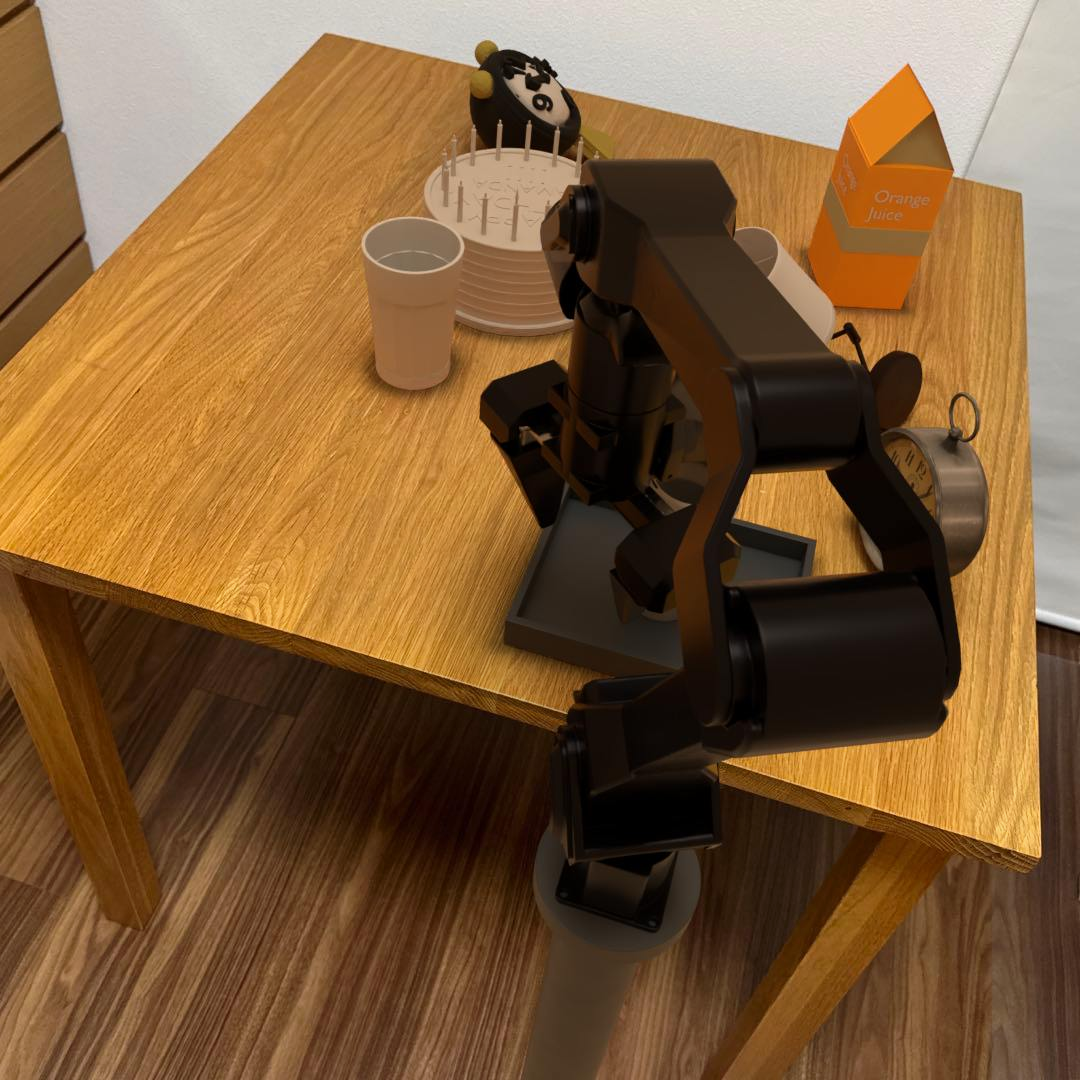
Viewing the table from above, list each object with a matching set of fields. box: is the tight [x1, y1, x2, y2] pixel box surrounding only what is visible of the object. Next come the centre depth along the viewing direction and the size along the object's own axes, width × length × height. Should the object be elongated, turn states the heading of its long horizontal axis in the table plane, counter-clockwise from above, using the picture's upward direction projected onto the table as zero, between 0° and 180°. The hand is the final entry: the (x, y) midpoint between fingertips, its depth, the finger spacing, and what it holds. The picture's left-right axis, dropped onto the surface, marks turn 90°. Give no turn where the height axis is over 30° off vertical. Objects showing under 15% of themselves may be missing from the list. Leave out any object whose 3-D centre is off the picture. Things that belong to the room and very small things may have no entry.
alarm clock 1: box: [468, 39, 614, 160], centre depth 118 cm, size 12×15×15 cm
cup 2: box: [642, 461, 741, 621], centre depth 76 cm, size 7×7×12 cm
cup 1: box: [360, 216, 464, 391], centre depth 92 cm, size 8×8×12 cm
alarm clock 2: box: [857, 391, 990, 579], centre depth 79 cm, size 11×5×16 cm, turn 10°
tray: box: [502, 481, 818, 677], centre depth 80 cm, size 15×19×3 cm
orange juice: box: [807, 62, 956, 310], centre depth 104 cm, size 8×9×20 cm
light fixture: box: [734, 226, 924, 430], centre depth 96 cm, size 10×16×17 cm
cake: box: [422, 120, 599, 337], centre depth 102 cm, size 18×18×13 cm
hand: (586, 571), depth 72 cm, fingers open, 9 cm apart
